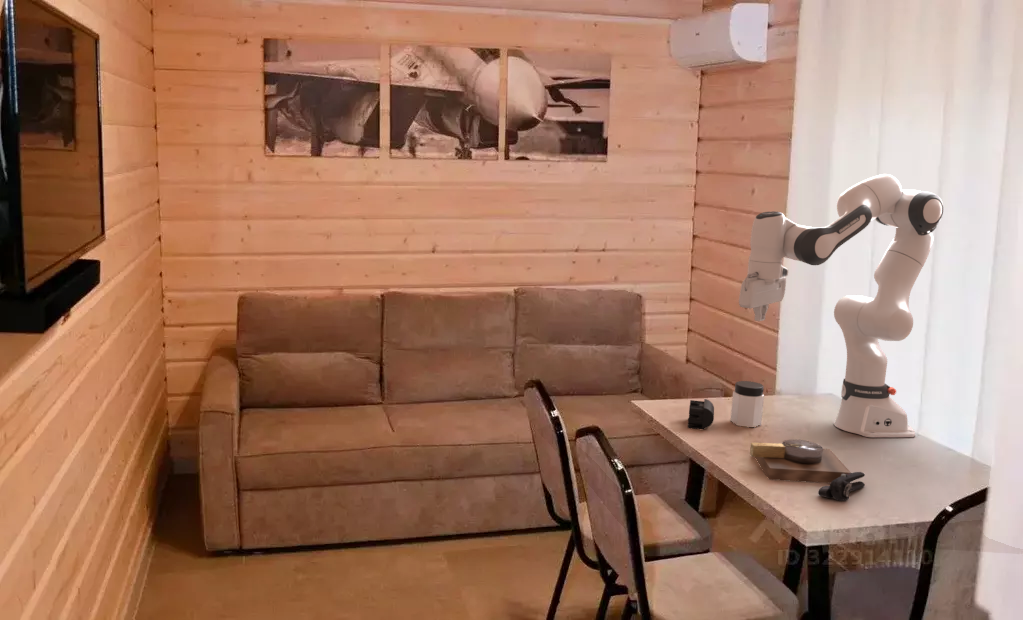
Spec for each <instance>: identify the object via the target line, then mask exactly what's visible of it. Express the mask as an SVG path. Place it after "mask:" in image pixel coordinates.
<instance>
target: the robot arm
mask: <svg viewBox="0 0 1023 620" xmlns="http://www.w3.org/2000/svg"><path fill="white" fill-rule="evenodd" d="M943 203H944V202H943V201H942V199H941V197H940V196H939V195H938V194H935V193H934V192H930V191H925V190H922V191H921V190H917V189H910V188H909V189H902V185H901V183H900V181H899V180H898V179H897V178H896V177H895V176H893V175H892V174H887V173H883V174H878V175H875V176H871V177H868V178H867V179H864V180H862V181H860V182H858V183H856V184H854V185H852V186H851V187H849V188H847V189H846V190H844V191H843V192H842V193H841V194H840V195H839V196H838V199H837V201H836V210H837V214H838V219H835V221H833V222H831V223H830V224H829V225H826V226H821V227H817V226H815V227H814V226H813V227H812V226H808V225H807V226H806V225H801V224H797V223H796V222H793V221H792V220H790V219H788V218H787V217H786V216H785V214H784V213H783V212H780V211H764V212H760V213H759V214H757V215H756V216H755V217H754V219H753V222H752V226H751V231H750V232H751V233H750V239H749V241H750V242H749V243H750V254H749V256H748V262H747V273H746V274H747V275H746V277H745V278H744V279H743V281H742V283H741V286H740V291H739V298H738V304H739V307H740V308H745V309H752V310H753V313H754V314H753V315H754V321H755V322H761V321H765V320H766V314H767V312H768V309H769V307H770V304H775V303H780V302H782V301H783V300H784V297H785V293H786V292H785V291H786V284H787V278H786V277H788V276H789V269H788V268H787V267H785V266H784V265H782V263H783V258H786V259H788V260H789V259H790V260H794V261H798V262H801V263H804V264H807V265H810V266H820V265H822V264H825V263H826V262H827V261H828V260H829V259H830V258H831V257H832V255H833V254H834V253H835V252H836V251H837V250H838V248H840V247H841V246H842V245H844V244H845V243H847V242H848V241H849V240H851V239H852V238H853V237H855V236H856V235H858V234H859V233H861V232H862V231H864V230H865V229H866V228H867V227H868V226H869V225H870V223H871V222H872V221H873V220H874V221H875V222H877V223H878V224H881V225H884V226H890V227H895V235H894V238H893V239H892V241H891V242H890V244H888V245H889V246H888V247H887V248H886V251H885V252H884V254H883V256H882V258H881V259H880V262H879V264H878V265H877V267H876V269H875V271H874V274H873V277H874V281H875V283H876V284H877V285H878V288H877V293H876V296H875V297H869V296H864V295H861V294H858V295H857V294H855V295H853V294H852V295H844V296H842V297H841V298H840V299H839V300H838V301H837V302H836V304H835V305H834V306H835V307H834V311H833V316H834V317H833V318H834V320H835V322H836V323H837V325H838V326H839V328H840V330H841V332H842V334H843V338H844V342H845V347H846V348H845V349H846V366H845V373H844V374H845V375H844V378H843V381H842V385H841V392H840V393H841V401H840V404H839V405H840V406H839V409H838V413H837V416H836V418H835V419H834V422H833V425H834V426H835V427H836V428H837V429H840V430H843V431H845V432H849V433H851V434H852V433H853V434H857V435H860V436H863V437H866V438H914V437H915V435H916V432H915V429H913V427H912V426H910V425H909V423H908V422H909V421H908V415H907V413H906V410H904V408H903V407H901V406H900V405H899V404H898V403H897V402H896V401H895V400H894V399H893V398H892V397H891V396H895V395H896V394H897V390H896V389H895V388H894V387H893V386H890V385H888V384H886V376H887V375H886V373H887V366H888V358H887V355H886V353H885V352H884V350H883V349H882V348H881V346H880V342H879V340H881V341H885V342H886V341H887V342H901V341H903V340H905V339H906V338H907V337H908V336H909V335H910V334H911V332H912V331H913V328H914V318H913V315H912V313H911V311H910V307H909V303H910V302H909V300H910V295H911V291H912V289H913V286H914V284H915V282H916V281H917V279H918V277H919V274H920V273H921V271H922V269H923V267H924V265H925V263H926V262H927V259H928V257H929V254H930V252H931V248H932V245H933V242H934V235H933V232H934V231H935V229H937V227H938V225H939V223H940V222H941V220H942V218H943V214H944V204H943Z"/></svg>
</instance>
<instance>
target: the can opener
mask: <svg viewBox="0 0 1023 620" xmlns="http://www.w3.org/2000/svg"><path fill="white" fill-rule="evenodd" d="M865 476H866V474H865V473H864V472H862V471H854V472H851V473H848V474H841V477H838V478H837V479H835V480H833V481H832V482H831V483H829V484H830V485H822V487H820V488H819V489H818V496H821V497H823V498H827V499H834V500H836V501H848V500H849V499H850V497H849V495H850V493H851V492H852V491H858V490H860V489H862V488H863V487H865V483H864V482H863V481H861V480H860V481H857V480H859V479H861V478H863V477H865Z"/></svg>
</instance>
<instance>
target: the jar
mask: <svg viewBox="0 0 1023 620" xmlns="http://www.w3.org/2000/svg"><path fill="white" fill-rule="evenodd" d="M731 400H732V401H731V410H730V419H729V421H730V422H731V421H732V422H733V423H732V422H731V423H732V424H734V423H735V424H736V426H737V425H740V426H739V427H741V426H748V427H747V428H749V427H754V428H756V427H755V426H757V427H759V426H758V425H760V426H762V423H763V422H762V421H763V413H764V411H763V410H764V401H765V394H764V385H763V384H762V383H760V382H757V381H756V382H755V381H751V380H750V381H749V380H740V381H739V380H738V381H736V382H735V385H734V390H733V391H732V399H731ZM735 424H734V425H735Z"/></svg>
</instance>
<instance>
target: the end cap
mask: <svg viewBox="0 0 1023 620" xmlns="http://www.w3.org/2000/svg"><path fill="white" fill-rule="evenodd" d="M688 408H689V409H688V420H687V421H688V422H687V429H691V428H692V429H693V430H700V429H703V430H706V429H708V428H709V427H710V426H711V425H712V424H713V423H714V420H715V406H714V404H713V402H712V401H710V400H709V399H706V398H704V400H703V401H702V400H693V399H691V400H690V402H689V407H688Z"/></svg>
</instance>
